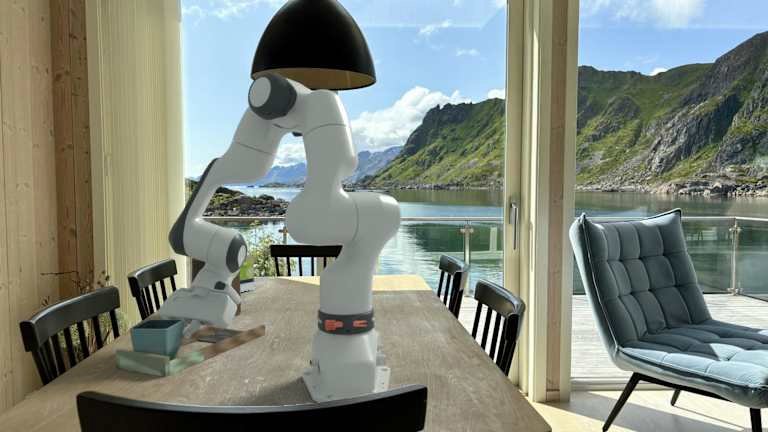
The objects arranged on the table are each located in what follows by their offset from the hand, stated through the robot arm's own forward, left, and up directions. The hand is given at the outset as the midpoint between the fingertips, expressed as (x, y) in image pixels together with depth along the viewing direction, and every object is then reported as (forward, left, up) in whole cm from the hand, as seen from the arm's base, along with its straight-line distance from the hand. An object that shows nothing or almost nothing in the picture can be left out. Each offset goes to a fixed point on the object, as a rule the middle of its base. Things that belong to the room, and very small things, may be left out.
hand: (181, 338), depth 126 cm
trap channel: (+6, -3, -4) cm, 8 cm away
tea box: (+80, +1, -5) cm, 80 cm away
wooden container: (+44, 0, -5) cm, 44 cm away
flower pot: (-4, +4, -5) cm, 7 cm away
